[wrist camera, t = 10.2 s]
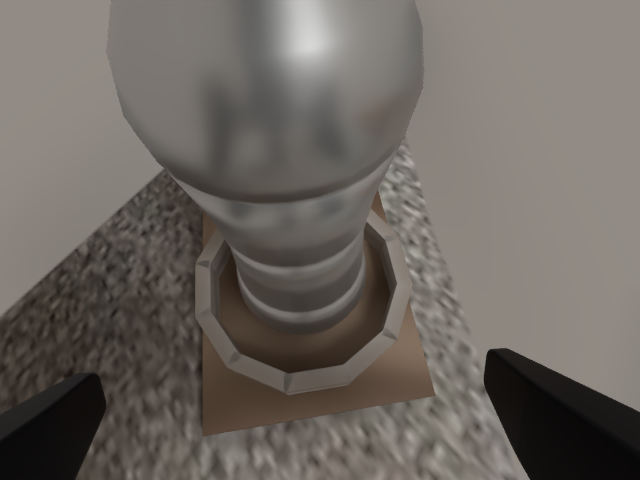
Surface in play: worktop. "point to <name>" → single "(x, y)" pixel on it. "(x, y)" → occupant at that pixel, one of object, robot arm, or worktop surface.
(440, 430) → the worktop surface
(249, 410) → the square coaster with ring
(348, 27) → the silver bottle
